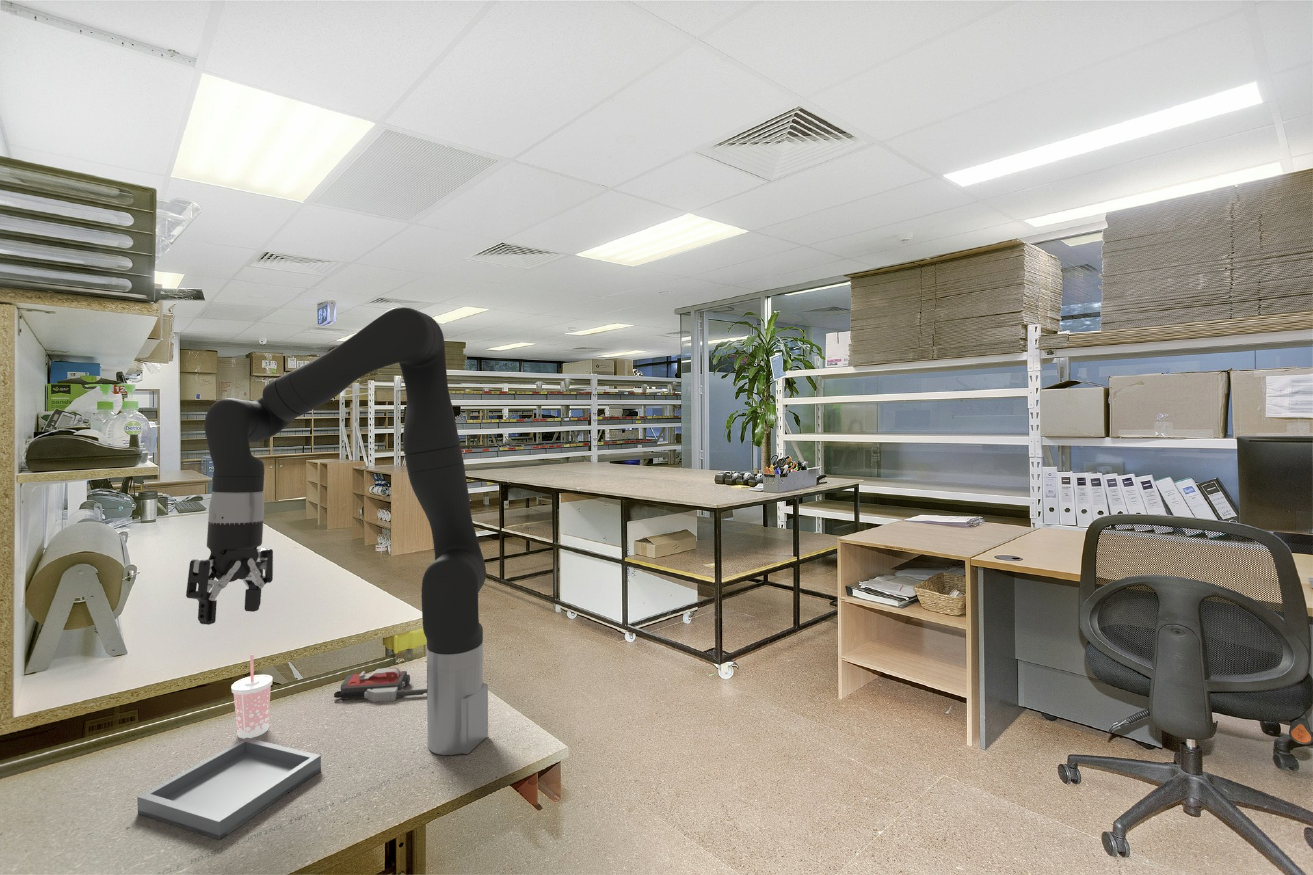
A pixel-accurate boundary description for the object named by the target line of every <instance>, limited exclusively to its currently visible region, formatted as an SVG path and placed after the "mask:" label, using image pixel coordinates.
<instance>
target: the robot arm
mask: <svg viewBox="0 0 1313 875" xmlns="http://www.w3.org/2000/svg"><path fill="white" fill-rule="evenodd" d="M433 318H434V317H432V316H430V315H428V314H427V313H424V312H422V311H419V310H418V309H415V308H412V307H407V306H397V307H393V308H390V309H388V310H387V311H384V312H383V313H382V314H380V315H379V316H378V317H376V318H375V319H373V320H372V321H371V322H369V323H368V324H366V325H365V326H363V328H362V329H360V330H359V331H358V332H356V333H355V334H353V335H352V336H351V337H349V338H348V339H346V340H345V341H343V342H341V343H340V344H339V345H337V346H336V347H334V348H332V349H331V350H329V351H327V352H326V353H324V354H322V355H320V356H319V357H316V358H315V359H313V360H311V361H309V362H307V363H305V364H304V365H301V366H299V367H298V368H295V369H293V370H291V371H289V372H287V373H285V374H283V375H281V376H279V377H277V378H275V379H273V380H272V381H270V382H268V383H267V384H266V385H265V386H264V387H263V391H262V397H260V398H257V399H255V400H252V401H251V400H246V399H245V400H244V399H239V398H234V397H233V398H229V397H227V398H226V397H225V398H222V399H219V400H217V401H215V402H214V403H212V404H211V406H210V407H209V409H208V410H207V413H206V414H205V419H204V433H205V437H206V442H207V445H208V446H207V447H208V451H209V454H210V458H211V461H212V465H213V473H212V487H211V491H212V492H211V495H210V496H211V498H210V501H209V507H208V518H207V520H208V521H207V533H206V534H207V536H206V548H208V549H209V551H210V555H209V556H208V559H198V558H197V559H194V558H193V559H191V560H190V562H189V570H188V576H187V585H186V592H185V597H186V598H187V599H194V600H197V601H198V610H197V611H198V613H197V620H198V622H199V624H200V625H208V626H209V625H212V624H215V623H216V619H217V616H216V615H217V605H218V604H217V602H218V601H217V598H218V596H219V594H220V593H221V591H222V590H223V589H225V588H226V587H227V586H228V585H229V583H232V582H236V581H237V580H241V581H242V582H243V583H244V584H245V586H246V587H247V588H246V589H245V595H244V611H245V612H257V611H259V610H260V607H261V602H262V599H261V598H262V589H263V588H264V587H265V585H266V584H270V583H271V582H273V578H274V577H273V575H274V573H273V572H274V550H273V549H271V548H259V547H260V546H262V545H263V534H264V518H265V517H264V516H265V515H264V514H265V500H264V499H265V498H264V488H265V486H264V485H265V484H264V483H265V463H264V462H263V460H262V459H261V458H258V457H256V456H254V455H253V454H252V452H251V447H250V443H258V442H262V441H265V440H267V439H270V438H273V437H274V436H276V435H277V434H279V433H280V432H281V431H282V430H284V429H285V428H286V427H288V426H289V425H290V424H291V423H292V422H294V420H295V419H297V418H298V417H301V416H303V415H305V414H308V413H310V412H311V411H313V410H315V409H317V408H319V407H320V406H321V407H322V405H325V404H326V403H328V402H330V401H331V400H333V399H334V398H336V397H337V396H338V395H340V394H341V393H342V392H344V391H345V390H346V389H347V388H348V387H349V386H351V385H352V384H353V383H355V381H357V380H359V379H360V378H362V377H364V376H366V375H367V374H369V373H371V372H374V371H376V370H379V369H382V368H385V367H388V366H391V365H395V364H399V366H400V371H401V375H402V378H403V381H404V382H403V383H404V387H405V393H406V407H405V408H406V409H405V415H404V416H405V417H404V425H403V432H402V447H403V448H402V449H403V454H404V460H405V465H406V470H407V476H408V479H409V482H410V485H411V488H412V491H413V493H414V495H415V497H416V499H417V501H418V503H419V505H420V506H421V508H422V511H423V512H424V514H425V516H426V518H427V520H428V522H429V527H430V530H431V535H432V540H433V542H432V543H433V550H434V561H433V562H432V563H431V564H430V565H429V566H428V567H427V568H426V570H425V572H424V573H423V577H422V582H421V615H422V619H421V620H422V629H423V630H422V631H423V634H424V636H425V638H426V689H427V693H426V711H427V712H426V719H427V720H426V721H427V723H426V724H427V725H426V726H427V729H426V730H427V748H428V749H429V751H430V752H432V753H433V754H436V755H441V756H453V755H460V754H464V755H468V754H470V753H471V752H472V751H473V750H474V749H475V748H476V747H478V746H479V745H480V744H481V743H482V742H483V741H484V740H485V739H486V738H488V736H489V686H488V683H485V682H484V630H483V629H484V628H483V626H482V624H481V623H480V619H479V614H480V613H479V592H480V591H481V590H482V587H483V586H484V584H485V581H486V577H487V576H486V575H487V568H486V563H485V559H484V557H483V556H484V555H483V553H482V549H481V545H480V543H479V539H478V537H477V533H476V530H475V526H474V521H473V519H472V518H473V517H472V511H471V504H470V503H471V502H470V495H469V488H468V481H467V476H466V468H465V462H464V456H463V452H462V451H463V450H462V446H461V441H460V437H459V432H458V427H457V422H456V417H455V412H454V409H453V408H454V406H453V404H452V399H451V395H450V391H449V384H448V376H447V375H448V372H447V363H446V362H447V361H446V348H445V347H446V345H445V337H444V333H443V330H442V328H441V326H440V324H438V322H437V320H435V319H433ZM197 585H198V586H197Z"/></svg>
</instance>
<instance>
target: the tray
mask: <svg viewBox="0 0 1313 875" xmlns="http://www.w3.org/2000/svg"><path fill="white" fill-rule="evenodd" d="M321 771H322V755H321V754H319V753H312V752H310V751H305V750H300V749H297V748H292V747H288V746H284V745H280V744H276V743H271V742H268V741H263V740H258V739H255V738H247V737H246V738H245V739H244V738H242V739H241V740H239V741H237V742H235V743H234V744H231V745H230V746H228V747H226V748H225V749H222V750H220V751H219V752H217V753H215V754H213V755H211V756H210V757H208V758H205V759H204V760H203V761H201V762H199V763H197V764H195V765H193V766H192V767H190V768H188V769H186V770H184V771H182V772H180V773H179V774H176V775H175V776H173V777H171V778H169V779H168V780H165V781H163V782H162V783H159V784H158V785H156V786H155V787H153V788H151V789H150V790H147V791H145V792H144V793H141V794H139V795H138V796H137V799H136V800H137V801H136V802H137V814H138V815H140V816H144V817H147V818H150V819H153V820H156V821H158V822H159V821H160V822H161V823H166V824H169V825H172V826H175V827H178V828H181V829H184V830H188V831H190V832H193V833H197V834H200V835H203V836H206V837H210V838H212V839H215V840H218V841H220V840H222V839H223V838H225V837H226V836H228V835H229V834H230V833H232V832H234V831H235V830H236V829H238V828H239V827H240V826H242V825H244V824H246V823H247V822H248V821H249V820H251V819H252V818H254V817H255V816H257V815H258V814H260V813H261V812H263V811H264V810H266V808H269V807H270V806H271V805H273V804H274V803H275V802H277V801H279V800H280V799H282V798H283V797H285V796H286V795H287V794H289V793H291V792H292V791H293V790H295V789H297V788H298V787H299V786H301V785H302V784H303V782H304V783H305V782H307V781H308V780H309V779H311V778H312V777H313V776H316V774H318V773H320V772H321ZM300 784H301V785H300ZM297 786H298V787H297ZM294 788H295V789H294ZM291 790H292V791H291ZM288 792H289V793H288Z"/></svg>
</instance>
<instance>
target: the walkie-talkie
mask: <svg viewBox="0 0 1313 875" xmlns="http://www.w3.org/2000/svg"><path fill="white" fill-rule="evenodd" d="M410 681H411V676H410V674H408V671H407V670H400V669H399V668H397V667H389V668H387V667H386V668H385V667H384V668H376V670H373V671H372V672H371V673H370V672H368V673H366V671H364V670H363V671H361V673H356V674H355V673H354V674H348V675H347V676H346V678H345V679H344V680H343V681H342V683H341V684H340V690H337V691H335V692H334V693H333V698H336V699H341V700H343V701H344V700H354V699H355V700H356V699H366V700H369V701H370V702H373V701H375V702H374V703H377V702H376V701H380V702H395V701H396V700H397V698H403V697H409V696H423V695H424V694H427V688H421V689H407V690H406V689H405V686H409V685H410V683H411V682H410Z"/></svg>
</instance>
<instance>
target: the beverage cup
mask: <svg viewBox="0 0 1313 875" xmlns="http://www.w3.org/2000/svg"><path fill="white" fill-rule="evenodd" d="M249 659H250V660H249V663H250V665H249V666H250V668H249V669H250V676H246V677H244V678H240V679H238V680H237V681H234V683H233V684H231V687H230V689H231V693H232V694H233V701H234V711H235V721H236V731H237V732H236V734H237V737H238V738H239V739H245V738H246V737H247V738H251V739H253V738H256V737H258V736H261V735H263V734H265V733H266V732H267V731H268V730H269V728H270V727H269V725H270V711H271V710H270V709H271V705H270V704H271V690H272V687H271V686H272V685H273V681H274V680H273V676H272V675H269V674H254V672H255V671H254V669H255V666H254V662H255V660H254V654H253V653H251V654H249Z"/></svg>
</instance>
